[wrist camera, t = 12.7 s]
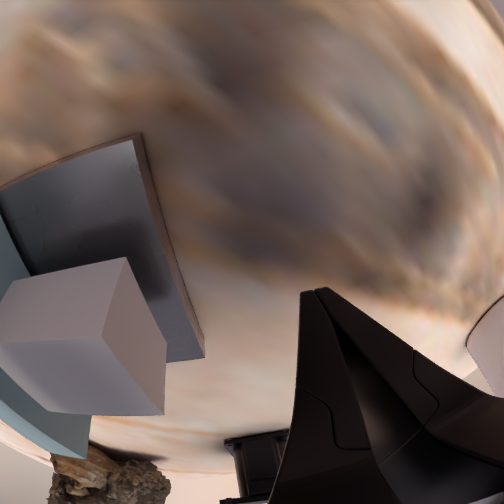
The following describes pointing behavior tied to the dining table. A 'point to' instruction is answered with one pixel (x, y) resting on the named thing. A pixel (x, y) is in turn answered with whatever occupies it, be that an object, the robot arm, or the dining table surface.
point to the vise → (103, 230)
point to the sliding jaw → (75, 350)
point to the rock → (106, 481)
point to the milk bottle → (490, 347)
